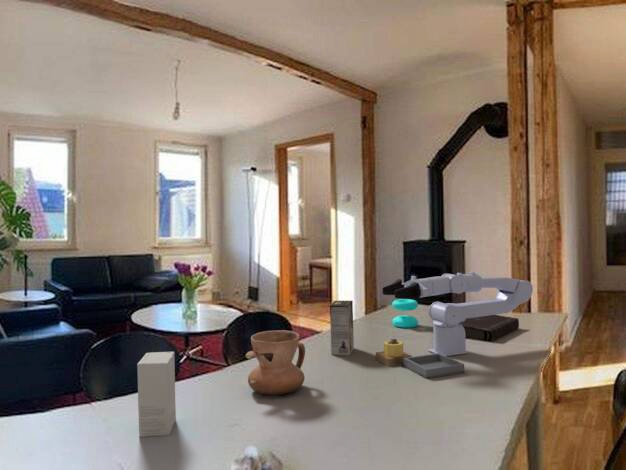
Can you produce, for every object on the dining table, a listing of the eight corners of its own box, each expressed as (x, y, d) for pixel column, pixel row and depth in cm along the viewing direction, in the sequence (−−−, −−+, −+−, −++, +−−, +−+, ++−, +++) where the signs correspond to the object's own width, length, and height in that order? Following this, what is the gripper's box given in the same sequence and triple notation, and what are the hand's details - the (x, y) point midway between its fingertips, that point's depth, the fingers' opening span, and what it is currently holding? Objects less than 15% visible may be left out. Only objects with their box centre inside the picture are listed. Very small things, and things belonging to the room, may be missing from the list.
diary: (519, 330, 188) (519, 317, 188) (492, 344, 170) (492, 330, 169) (472, 323, 201) (472, 311, 200) (442, 335, 182) (442, 322, 182)
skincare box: (148, 421, 111) (145, 352, 110) (178, 419, 111) (175, 350, 111) (138, 438, 103) (135, 363, 102) (171, 436, 103) (168, 361, 102)
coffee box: (335, 347, 168) (334, 300, 168) (354, 348, 167) (353, 300, 167) (330, 355, 160) (329, 305, 159) (350, 355, 158) (349, 305, 158)
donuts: (390, 298, 203) (415, 298, 203) (390, 323, 203) (415, 322, 203) (394, 303, 193) (420, 302, 193) (394, 328, 193) (420, 328, 193)
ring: (397, 350, 155) (396, 339, 155) (406, 355, 150) (405, 343, 150) (381, 352, 153) (381, 341, 153) (389, 357, 148) (389, 345, 148)
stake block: (398, 355, 157) (398, 335, 156) (412, 362, 149) (411, 341, 149) (375, 358, 154) (375, 337, 154) (388, 366, 146) (387, 344, 146)
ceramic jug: (263, 406, 118) (261, 346, 117) (233, 390, 129) (232, 336, 129) (323, 388, 129) (321, 334, 128) (290, 375, 140) (289, 325, 140)
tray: (439, 361, 150) (439, 353, 150) (464, 372, 139) (464, 364, 138) (403, 366, 146) (403, 357, 146) (426, 378, 135) (426, 369, 134)
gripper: (414, 272, 163) (377, 277, 158) (440, 276, 149) (400, 282, 144) (415, 293, 163) (378, 299, 158) (441, 300, 149) (401, 306, 145)
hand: (388, 292), depth 151 cm, fingers open, 7 cm apart
